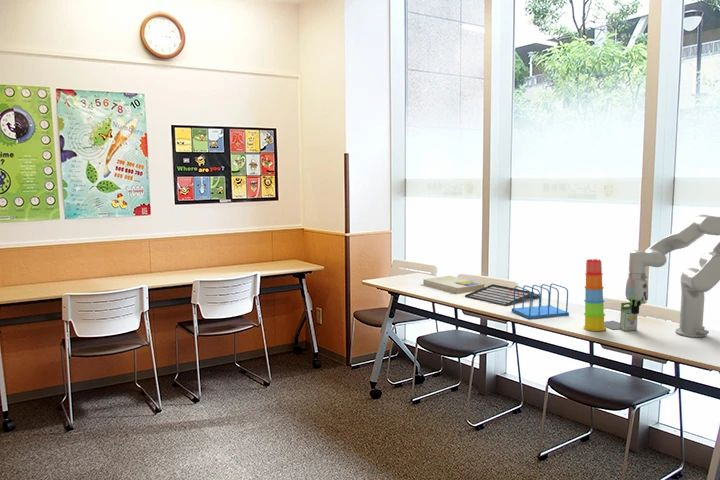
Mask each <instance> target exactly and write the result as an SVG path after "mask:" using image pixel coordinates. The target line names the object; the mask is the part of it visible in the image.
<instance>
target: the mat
mask: <svg viewBox="0 0 720 480" xmlns="http://www.w3.org/2000/svg"><path fill="white" fill-rule="evenodd" d="M604 327H606V329H609V330H612V331H615V330H616V331H617V330H621V329H620V322H619V321H616V320H609V321H607V320H606V321H604Z"/></svg>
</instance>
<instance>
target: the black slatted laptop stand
mask: <svg viewBox="0 0 720 480" xmlns="http://www.w3.org/2000/svg"><path fill="white" fill-rule="evenodd" d="M514 288H515V287H509V286H504V285H503V286H502V285H498V284H490V285H487V286H484V288H482V289H479V290H477V291H473V292H468V293H467V294H464V298H468V299H472V300H478V301H483V302H486V303H491V304H495V305H499V306H503V307H509V306H512V305H514ZM529 291H530V290H529ZM529 291H527V290H524V300H525V299H530V293H529ZM530 292H531V300H532V291H530ZM533 300H539V293H536V292H534V291H533ZM521 301H523V289H521V288H516V289H515V304H517V303H519V302H521Z"/></svg>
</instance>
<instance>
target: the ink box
mask: <svg viewBox="0 0 720 480" xmlns="http://www.w3.org/2000/svg"><path fill="white" fill-rule="evenodd" d="M625 305H627V306H625ZM631 309H632V305H631V303H630V301H629V302H621V303H620V322H619V323H620V329H619V330H621V331H623V332H631V331H637V330H638V315H639V314H632V313H631Z"/></svg>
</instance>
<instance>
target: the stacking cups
mask: <svg viewBox="0 0 720 480" xmlns="http://www.w3.org/2000/svg"><path fill="white" fill-rule="evenodd" d="M585 264H586V265H585V268H586V269H585V285H584V289H585V291H584V292H585V294H584V295H585V298H584V300H583V301H584V306H585V307H584V313H583V315H584V325H583V326H582V327H583V329H584V330H586V331H592V332H603V331H606V329H607V328H606V327H604V322H605V316H606V314H605V312H604V310H605V307H604V303H605V300H604V292H603V291H604V286H603V270H602V267H603V266H602V261H601V259H596V258H593V259H587V260H586V263H585Z"/></svg>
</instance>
